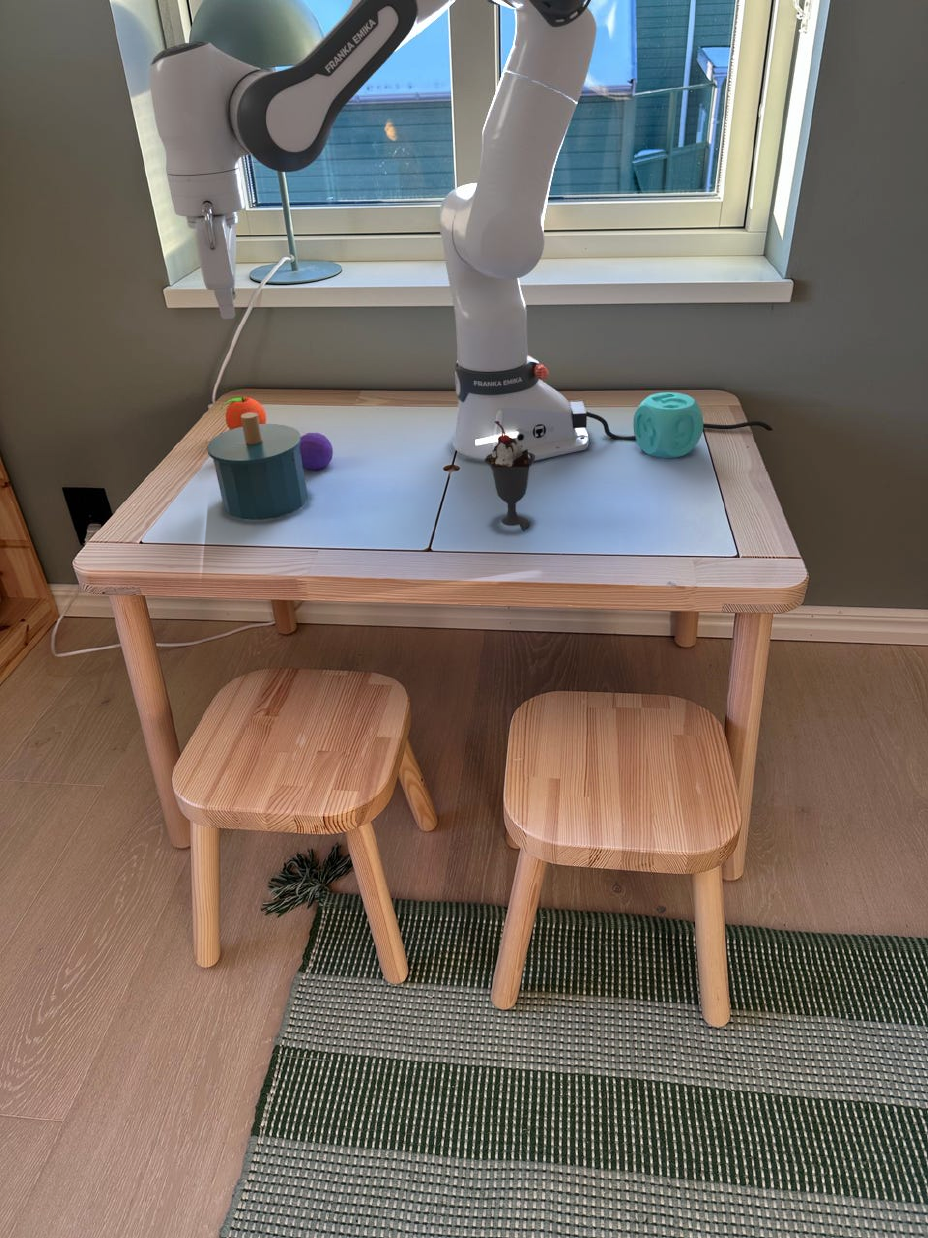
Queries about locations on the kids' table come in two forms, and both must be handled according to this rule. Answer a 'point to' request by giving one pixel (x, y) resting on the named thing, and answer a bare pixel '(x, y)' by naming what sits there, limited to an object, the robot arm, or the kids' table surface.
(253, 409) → the clementine
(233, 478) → the pot
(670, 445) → the decorative dice
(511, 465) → the sundae
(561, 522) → the kids' table surface
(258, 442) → the lid
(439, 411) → the kids' table surface
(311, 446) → the kendama
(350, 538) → the kids' table surface
